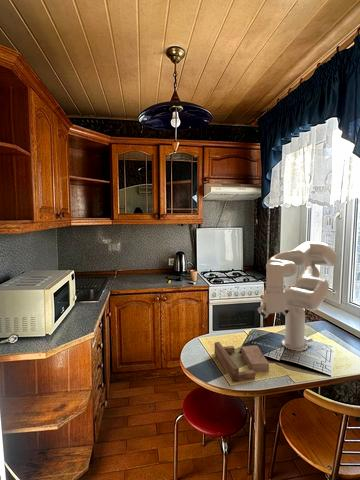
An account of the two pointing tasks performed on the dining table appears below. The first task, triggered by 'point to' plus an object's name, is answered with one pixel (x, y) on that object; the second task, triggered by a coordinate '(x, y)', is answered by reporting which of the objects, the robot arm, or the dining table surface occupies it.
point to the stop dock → (231, 364)
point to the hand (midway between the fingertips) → (274, 323)
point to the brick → (255, 359)
